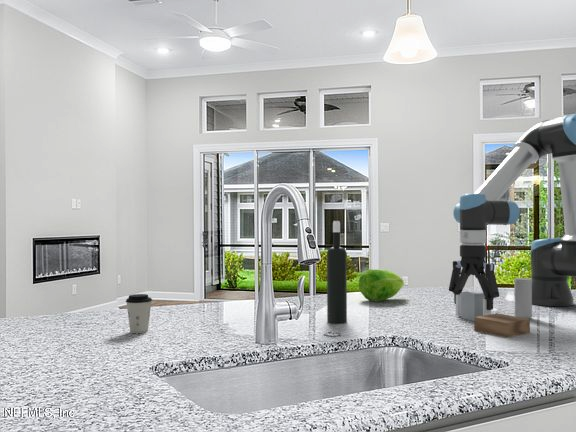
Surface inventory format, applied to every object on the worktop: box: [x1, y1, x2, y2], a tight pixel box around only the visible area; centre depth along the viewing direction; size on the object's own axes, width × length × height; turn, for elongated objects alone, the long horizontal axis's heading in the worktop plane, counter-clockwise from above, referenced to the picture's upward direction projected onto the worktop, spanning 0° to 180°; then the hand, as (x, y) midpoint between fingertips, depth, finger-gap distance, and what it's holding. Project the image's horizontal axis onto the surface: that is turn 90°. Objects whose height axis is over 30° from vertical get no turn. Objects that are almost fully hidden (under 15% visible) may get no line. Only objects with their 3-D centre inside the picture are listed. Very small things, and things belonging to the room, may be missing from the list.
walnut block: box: [473, 313, 531, 338], centre depth 139 cm, size 10×10×4 cm
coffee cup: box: [125, 293, 153, 335], centre depth 140 cm, size 7×7×10 cm
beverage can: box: [513, 277, 533, 320], centre depth 157 cm, size 5×5×12 cm
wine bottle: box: [326, 220, 348, 325], centre depth 153 cm, size 6×6×30 cm
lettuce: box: [358, 268, 405, 303], centre depth 193 cm, size 14×20×12 cm
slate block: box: [460, 290, 485, 322], centre depth 156 cm, size 5×5×8 cm
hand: (473, 317), depth 156 cm, fingers open, 9 cm apart
